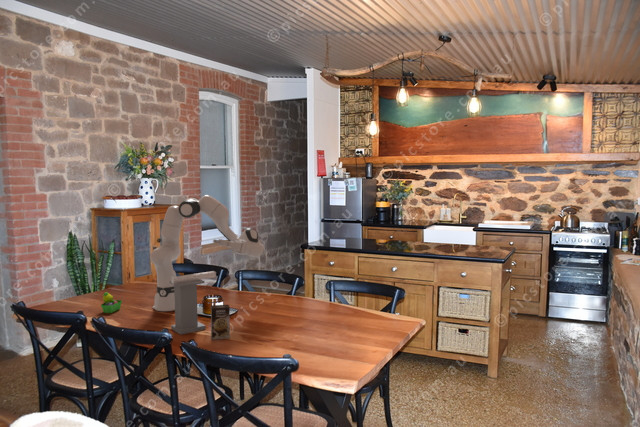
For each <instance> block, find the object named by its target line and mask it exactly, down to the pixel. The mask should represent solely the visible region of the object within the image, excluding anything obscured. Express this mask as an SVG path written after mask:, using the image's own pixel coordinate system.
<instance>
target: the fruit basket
mask: <svg viewBox="0 0 640 427" xmlns="http://www.w3.org/2000/svg"><path fill="white" fill-rule="evenodd" d="M102 300H103V303H101V304H100V307H101V309H102V312H103V313H104V314H112V313H114V312H117V311H118V310H120V309H121V306H122V303H123V300H120V299H119V300H118V299H114V296H113V295H112V294H110V293H109V292H107V291H106V292H104V293H103V297H102Z"/></svg>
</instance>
